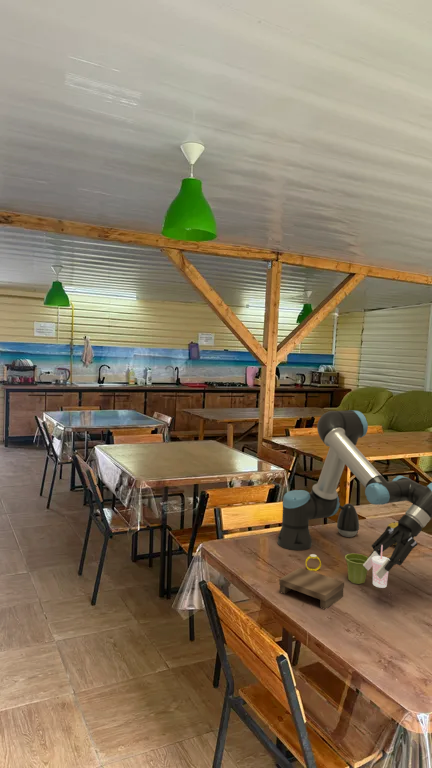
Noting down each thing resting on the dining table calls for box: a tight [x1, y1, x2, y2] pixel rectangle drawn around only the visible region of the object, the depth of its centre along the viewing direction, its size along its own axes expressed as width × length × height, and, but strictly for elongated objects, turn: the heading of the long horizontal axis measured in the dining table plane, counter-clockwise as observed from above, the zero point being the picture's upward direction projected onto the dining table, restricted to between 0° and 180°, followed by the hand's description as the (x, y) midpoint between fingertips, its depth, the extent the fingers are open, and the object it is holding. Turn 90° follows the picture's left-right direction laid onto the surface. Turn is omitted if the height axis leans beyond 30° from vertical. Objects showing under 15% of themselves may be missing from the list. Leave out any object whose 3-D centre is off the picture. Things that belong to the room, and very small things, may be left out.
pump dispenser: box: [336, 503, 360, 538], centre depth 243 cm, size 10×10×15 cm
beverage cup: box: [372, 545, 390, 589], centre depth 176 cm, size 6×6×14 cm
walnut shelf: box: [278, 566, 345, 610], centre depth 182 cm, size 18×14×5 cm
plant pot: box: [344, 553, 369, 585], centre depth 194 cm, size 9×9×9 cm
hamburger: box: [386, 520, 398, 547], centre depth 231 cm, size 8×7×12 cm
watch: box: [304, 553, 322, 572], centre depth 203 cm, size 6×3×6 cm, turn 89°
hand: (371, 571), depth 175 cm, fingers closed on beverage cup, 6 cm apart
